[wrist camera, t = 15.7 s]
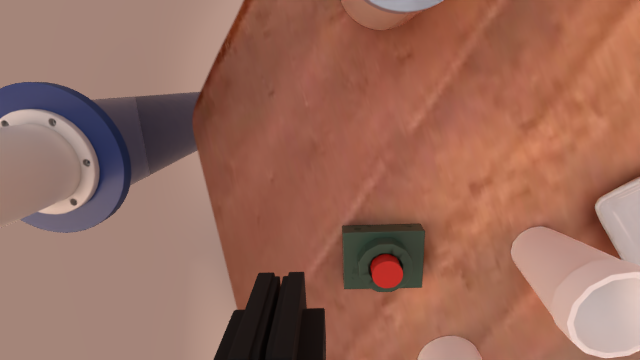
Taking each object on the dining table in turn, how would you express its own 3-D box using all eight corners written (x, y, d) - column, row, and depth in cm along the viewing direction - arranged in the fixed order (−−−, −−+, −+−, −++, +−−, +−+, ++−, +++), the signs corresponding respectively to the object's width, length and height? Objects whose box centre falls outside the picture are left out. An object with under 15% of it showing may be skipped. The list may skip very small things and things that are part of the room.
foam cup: (486, 269, 44) (549, 344, 32) (517, 207, 41) (598, 261, 29) (552, 287, 45) (640, 367, 32) (587, 226, 42) (696, 288, 29)
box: (343, 279, 45) (344, 298, 41) (342, 225, 43) (343, 239, 39) (417, 278, 45) (426, 296, 41) (420, 223, 42) (429, 237, 39)
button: (370, 280, 41) (372, 288, 39) (370, 254, 40) (372, 261, 38) (399, 279, 41) (402, 288, 39) (400, 253, 40) (403, 260, 38)
